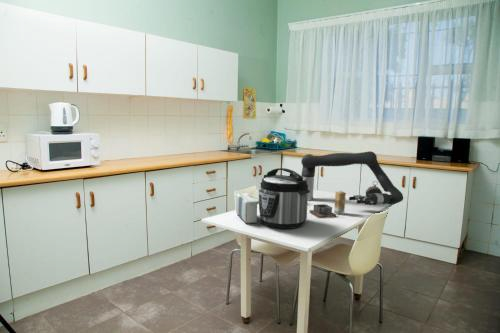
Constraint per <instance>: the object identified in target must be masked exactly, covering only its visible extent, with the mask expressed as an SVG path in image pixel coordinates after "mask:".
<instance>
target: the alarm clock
mask: <svg viewBox="0 0 500 333" xmlns="http://www.w3.org/2000/svg"><path fill="white" fill-rule="evenodd" d="M374 182H376V184H374ZM378 183H379V182H378V180H377V181H376V180H374V181H373V183H372V185H371V186H369V187H368V188H367V189H366V191H365V196H366V195H367V194H372V193H379V194H381V193H383V192H382V190H381V189H380V188H379V187H378V186H377V185H378Z"/></svg>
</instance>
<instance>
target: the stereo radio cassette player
mask: <svg viewBox="0 0 500 333" xmlns="http://www.w3.org/2000/svg"><path fill="white" fill-rule="evenodd" d="M255 191H256V189H254V190H253V191H252V192H251V193H247V192H246V193H237V194H236V195H235V213H236V214H237V215H238V216H239V217H240V219H242V220H243V222H244V223H245V224H252V223H253V224H254V223H257V218H258V205H259V199H257V198H255V197H254V196H252V194H253V193H254V192H255Z"/></svg>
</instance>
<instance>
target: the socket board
mask: <svg viewBox="0 0 500 333" xmlns="http://www.w3.org/2000/svg"><path fill="white" fill-rule="evenodd" d="M309 214H311V215H312V216H314V217H316V218H318V219H322V218H323V219H325V218H335V217H337V214H335V213H334V212H333V207H332V206H331V205H328V204H326V203H322V204H318V203H317V204H314V205H313V209H312V210H311V209H310V210H309Z"/></svg>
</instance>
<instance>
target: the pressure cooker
mask: <svg viewBox="0 0 500 333" xmlns="http://www.w3.org/2000/svg"><path fill="white" fill-rule="evenodd" d="M278 171H283V172H285V173H286V172H287V173H289V175H283V174H277V173H278ZM301 175H302V174H299V173H298V172H296V171H294V170H292V169H289V168H285V167H278V168H273V169H271V170H269V171H267V173H266V174H264V175H263V178H262V179H261V182H260V187H259V188H260V189H259V190H258V201H259V203H258V209H259V210H258V211H259V218H260V222H261V223H262V224H263V225H265V226H268V227H271V228H276V229H296V228H300V227H302V226H304V225H305V224H306V222H307V220H308V219H307V218H308V201H307V200H308V193H310V190H308V184H307V180H305V179H303V177H302V176H301Z"/></svg>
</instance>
